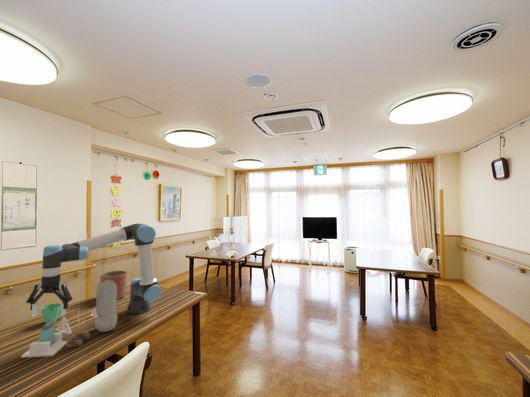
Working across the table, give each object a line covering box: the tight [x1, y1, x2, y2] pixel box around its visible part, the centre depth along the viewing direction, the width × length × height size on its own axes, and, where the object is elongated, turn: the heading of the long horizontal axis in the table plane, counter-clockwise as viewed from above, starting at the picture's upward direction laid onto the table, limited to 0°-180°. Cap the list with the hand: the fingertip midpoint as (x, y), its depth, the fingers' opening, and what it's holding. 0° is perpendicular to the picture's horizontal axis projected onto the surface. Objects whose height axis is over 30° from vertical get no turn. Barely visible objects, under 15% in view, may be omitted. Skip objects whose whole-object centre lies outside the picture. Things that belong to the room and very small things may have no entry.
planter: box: [99, 269, 128, 301], centre depth 200 cm, size 19×19×20 cm
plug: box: [38, 323, 56, 346], centre depth 127 cm, size 4×5×12 cm
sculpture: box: [94, 280, 118, 333], centre depth 150 cm, size 15×12×30 cm
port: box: [20, 332, 68, 358], centre depth 127 cm, size 14×12×6 cm
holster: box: [65, 332, 91, 348], centre depth 135 cm, size 7×9×3 cm
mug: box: [40, 302, 68, 324], centre depth 159 cm, size 15×10×10 cm
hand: (49, 315), depth 128 cm, fingers open, 13 cm apart
